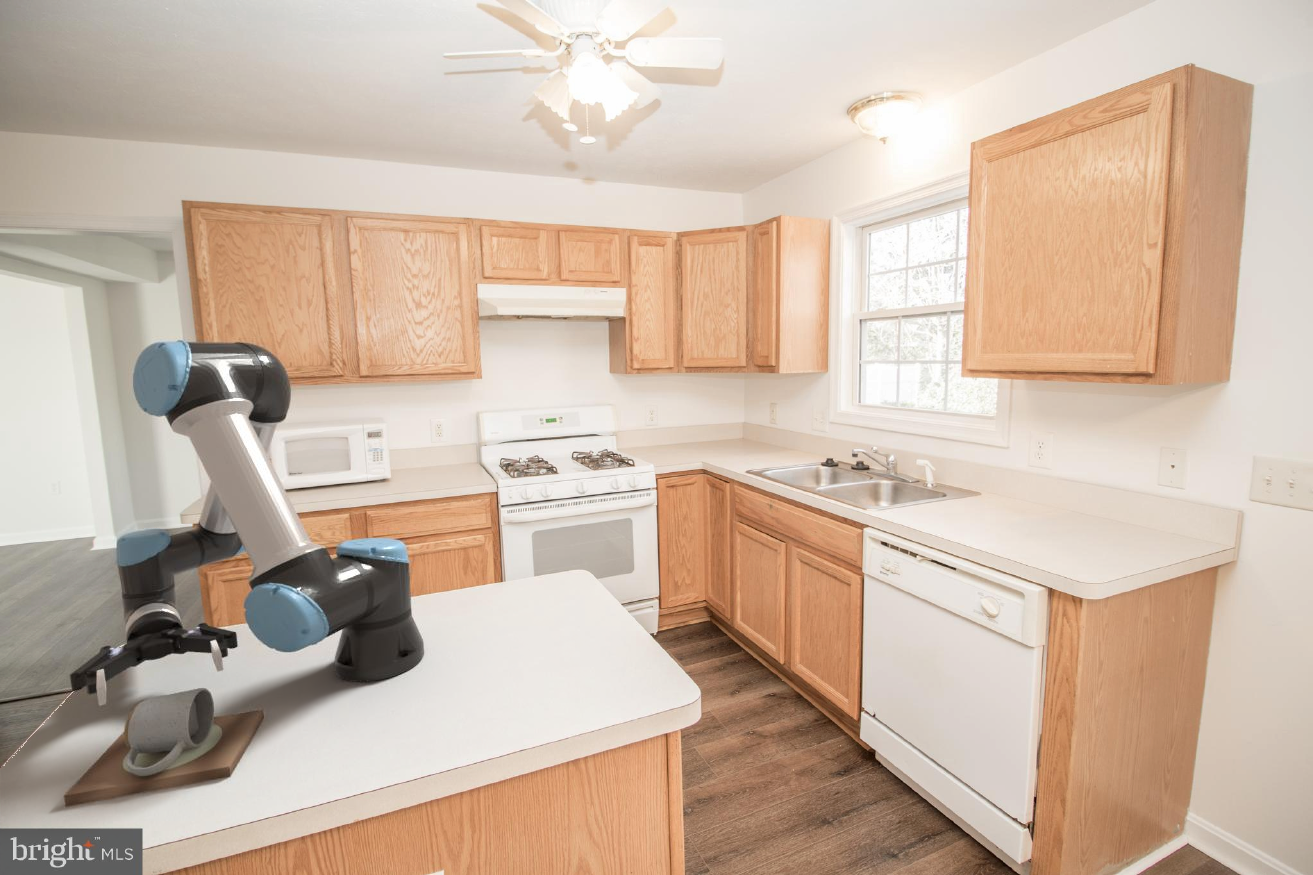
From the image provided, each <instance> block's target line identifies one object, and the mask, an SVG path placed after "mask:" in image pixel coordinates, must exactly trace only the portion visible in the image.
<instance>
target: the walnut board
mask: <svg viewBox="0 0 1313 875" xmlns="http://www.w3.org/2000/svg"><path fill="white" fill-rule="evenodd" d="M264 720H265V709H257V710H249V711H243V712H236V713H230V714H224V715H217V716H214V721H213V726H212V729H211V732H210V734H209V736H208V738H207V739H206V741H205V742H204V743H203V744H202V745H200V746H199V747H195V748H188V749H183V750H182V752H181V753H180V755H179V756H178V757H177V759H176V760H175V761H174V762H173V763H172V764H171V765H169V766H168V767H167V768H165V769H164V770H162V771H160V772H158V773H156V774H153V775H148V776H138V775H135V774H133V773H132V772H131V771H130V769H129V768H128V766H127V756H128V753H129V752H130V750H129V748H128V747H127V745H126V743H125V739H124V731H123V732H122V733H121V734H120V735H119V736H118V737H117V738H116V739H115V741H114V742H113V743H112V744H111V745H110V746H108V748H107V749H106V750H105V751H104V752H103V753H102V754H101V755H100V757H98V759H97V760H96V761H95V762H94V763H93V764H92V765H91V766H90V767H89V768H88V770H86V772H84V774H83V775H82V776H81V777H80V778H79V779H78V780H77V781H76V782H75V783H74V784H73V785H72V786H71V787H70V789H69V790H68V791H67V792H65V793H64V795H63V798H64V806H65V807H70V806H75V805H80V804H81V805H82V804H87V803H92V802H98V801H102V800H110V799H114V798H119V797H125V796H130V795H135V794H136V795H137V794H141V793H142V794H143V793H146V792H147V793H148V792H152V791H153V792H154V791H158V790H159V791H160V790H164V789H168V788H176V787H180V786H185V785H192V784H196V783H197V784H198V783H202V782H208V781H213V780H219V779H220V780H221V779H225V778H226V779H227V778H230V777H231V776H232V775H233V773H234V771H235V770H236V768H237V766H238V764H239V763H240V761H241V759H242V757H243V756H244V755H245V752H246V751H247V750H248V747H249V746H250V744H251V742H252V740H253V738H254V737H255V735H256V734H257V732H258V730H259V728H260V727H261V725H262V723H263V722H264ZM170 752H171V751H162V752H156V753H148V754H138V755H137V757H136V759H135V762H134V765H135V766H136V767H142V768H147V767H150V766H152V765H154V764H156V763H158V762H159V761H161V760H162V759H163V758H165V757H166V756H167V755H168V754H169V753H170Z"/></svg>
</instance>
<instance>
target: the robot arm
mask: <svg viewBox="0 0 1313 875" xmlns="http://www.w3.org/2000/svg"><path fill="white" fill-rule="evenodd" d="M132 389H133V393H134V397H135V400H136V402H137V404H138V406H139V408H140V409H141V410H142V411H143V412H145V413H147V414H148V415H150V416H154V417H160V418H161V417H164V416H165V418H166V420H167V422H168V425H169V426H170V428H171V430H172V432H174V433H176V434H178V435H181V436H185V437H187V438H189V441H190V443H191V444H192V446H193V449H194V450H195V452H196V455H197V456H198V458H199V460H200V463H202V466H203V468H204V471H205V472H206V474H207V477H208V479H209V481H210V484H209V487H208V489H207V493H206V496H205V500H204V504H203V507H202V510H201V514H200V518H199V520H198V524H197V526H196V528H194V529H191V530H188V531H183V532H180V533H179V532H178V533H175V534H171V535H170V534H169V531H168V530H166V529H164V528H148V529H143V530H135V531H132V532H128V533H126V534H123V535H121V536H120V537H119V538H118V539H117V540H116V548H115V552H116V553H115V554H116V565H117V568H118V569H117V571H118V575H119V580H120V587H121V600H122V608H123V620H124V623H125V638H126V643H125V644H123V646H122V647H119V648H118V647H117V648H114V647H112V646H111V645H105V646H102V647H100V650H99V652H98V653H97V654H95V655H94V656H92V657H91V658H90V659H89V660H87V661H86V662H84V663H83V664H82V665H81V666H79V667H78V668H77V669H76V670H74V671H73V672H72V673H70V674H69V680H70V686H71V687H70V688H71V692H77V691H81V690H83V688H85V687H86V691H87V693H86V694H88V695H93V694H95V693H96V694H97V695H96V696H97V701H98V706H99V707H100V706H104V705H107V683H106V682H108V681H110V680H111V679H112V678H114V677H115V676H118V675H119V674H121V673H122V672H124V671H126V670H127V669H129V668H134V667H135V668H136V667H138V666H140V665H141V664H142V663H144V662H145V661H156V660H159V659H163V658H165V657H167V656H170V655H171V654H174V655H175V654H176V655H184V654H186V653H202V654H211V659H212V661H213V663H214V666H215V669H216V671H217V673H218V672H221V671H222V672H223V671H224V665H223V658H227V657H228V656H229V650H230V649H231V650H232V649H236V648H237V647H239V646H238V635H237V632H236V631H233V630H229V629H224V628H220V627H215V626H212V625H211V626H210V625H209V624H207V622H201V623H199V624H197V627H195V629H192V630H187V629H186V628H185V629H184V627H183V623H182V620H181V617H180V614H179V610H178V604H177V603H178V602H177V596H176V595H177V594H176V587H175V586H176V585H175V576H177V575H179V574H182V573H185V572H189V571H192V570H195V569H197V568H201V567H204V566H208V565H212V564H215V563H218V562H221V561H224V560H229V559H232V558H234V557H235V556H239V555H241V554H243V553H245V552H246V554H247V556H248V559H249V560H250V562H251V565H252V566H253V569H252V572H251V573H250V577H249V578H248V581H247V582H248V585H249V586H250V588H251V590H250V591H249V592H248V594H247V595H246V597H245V600H244V601H243V602H244V603H243V608H244V609H245V611H244V618H245V621H246V623H247V626H248V628H249V629H250V631H251V632H252V634H253V635H254V636H255V637H256V639H257V640H259V642H260V643H262V644H263V645H264V646H266V647H268V648H269V649H273V650H275V651H278V652H280V653H296V652H298V651H301V650H303V649H305V648H307V647H310V646H315V645H317V644H319V643H320V642H322V641H324V639H326V638H329V637H330V636H332V635H334V634H336V633H338V632H340V631H341V634H340V638H339V641H338V645H337V648H336V652H335V655H334V671H335V673H336V674H335V675H336V676H337V677H338V678H341V679H342V680H345V681H350V682H360V683H361V682H362V683H364V682H374V681H379V680H385V679H388V678H391V677H394V676H395V677H396V676H397V675H400V674H403V673H404V672H407V671H408V670H410V669H412V668H414V667H415V666H417V665H418V664H419V663H420V662H421V661H422V660H423V658H424V656H425V645H424V644H425V643H424V638H423V637H422V635H421V632H420V630H419V628H418V626H417V624H416V622H415V620H414V616H413V613H412V612H413V611H412V596H411V581H410V579H411V576H410V562H411V561H410V560H409V556H408V549H407V546H406V544H405V543H404V541H402V540H398V539H395V538H388V537H387V538H384V537H383V538H382V537H376V538H375V537H373V538H372V537H370V538H368V537H367V538H359V539H358V538H357V539H351V540H346V541H342V542H340V543H339V544H337V546H336V551H335V552H334V553H335V554H336V557H334V558H332V556H331V555H330V553H329V551H328V549H327V547H326V546H325V545H321V544H317V543H314V542H313V541H311V538H310V537H309V535H308V532H307V530H306V529H305V527H304V525H303V523H302V521H301V518H300V517H299V515H298V513H297V511H296V509H295V507H294V505H293V503H292V500H291V499H290V496H288V494H287V491H286V489H285V487H284V486H283V483H282V481H281V479H280V478H279V475H278V474H277V472H276V470H275V467H274V466H273V464H272V462H271V460H270V458H269V456H268V452H269V450H270V446H271V444H272V440H273V438H274V434H275V433H276V432H275V431H276V429H277V426H278V424H281V423H283V422H285V421H286V418H287V414H288V413H289V410H290V409H289V408H290V405H291V404H290V403H291V398H292V397H291V396H292V395H291V394H292V387H291V381H290V378H289V374H288V373H287V370H286V368H285V366H284V365H283V363H282V362H281V361H280V360H279V359H278V357H277V356H276V355H274V353H272V352H271V351H270V350H269V349H266V348H265V347H262V346H261V345H257V344H254V343H250V342H242V341H241V342H239V341H235V342H218V341H217V342H215V341H214V342H213V341H211V342H210V341H207V342H205V341H186V340H182V339H179V340H177V341H158V342H154V343H152V344H150V345H147V347H145V348H144V349H143V350H142V351H141V352H140V354H139V356H138V357H137V359H136V362H135V366H134V369H133V374H132ZM228 649H229V650H228Z"/></svg>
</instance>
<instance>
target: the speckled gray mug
mask: <svg viewBox="0 0 1313 875" xmlns="http://www.w3.org/2000/svg"><path fill="white" fill-rule="evenodd" d="M214 717H215V702H214V699H213V695H212V693H211V691H209V689H207V688H204V687H200V688H199V687H198V688H194V689H190V690H185V691H179V692H174V693H170V694H164V695H163V694H162V695H159V696H154V697H150V698H148V699H144V700H141V701H140V702H138V703H137V704H136V705H134V707H133V708H132V710H131V711H130V712H129V714H128V716H127V718H126V721H125V724H124V731H123V732H124V739H125V743H126V745H127V747H128V748H129V750H130V752H129V753H128V756H127V766H128V768H129V769H130V771H131V772H132V773H133V774H135V775H138V776H148V775H153V774H156V773H158V772H160V771H162V770H164V769H165V768H167V767H168V766H169V765H171V764H172V763H173V762H174V761H175V760H176V759H177V757H178V756H179V755H180V753H181V752H182V750H183V749H188V748H195V747H199V746H200V745H202V744H203V743H204V742H205V741H206V739H207V738H208V736H209V734H210V732H211V729H212V726H213V721H214ZM162 751H171V752H170V753H169V754H168V755H167V756H166V757H165V758H163V759H162V760H161V761H159V762H158V763H156V764H154V765H152V766H150V767H147V768H142V767H136V766H135V765H134V762H135V759H136V757H137V755H138V754H148V753H156V752H162Z"/></svg>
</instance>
